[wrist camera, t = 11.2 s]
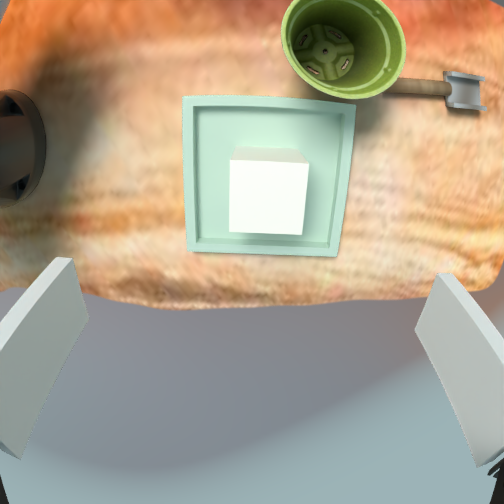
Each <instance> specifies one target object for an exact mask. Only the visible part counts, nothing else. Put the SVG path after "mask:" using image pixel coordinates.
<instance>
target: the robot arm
mask: <svg viewBox="0 0 504 504" xmlns="http://www.w3.org/2000/svg"><path fill="white" fill-rule="evenodd" d="M9 2H10V0H0V23H1V20H2V18H3V16H4V13H5V11H6V9H7V7H8V5H9ZM45 154H46V140H45V132H44V127H43V123H42V120H41V117H40V114H39V112H38V110H37V108H36V107H35V105H34V104H33V102H32V101H31V100H30V99H29V98H28V97H27V96H26V95H24V94H23V93H21V92H19V91H16V90H3V91H0V208H3V207H9V206H12V205H14V204H16V203H18V202H19V201H21V200H22V199H24V198H26V197H27V196H28V195H29V194H30V193H31V192H32V191H33V190H34V189H35V187H36V185H37V184H38V182H39V180H40V177H41V175H42V171H43V168H44V163H45ZM88 320H89V315H88V312H87V309H86V305H85V302H84V299H83V295H82V292H81V288H80V285H79V281H78V277H77V273H76V270H75V266H74V262H73V258H63V257H56V258H55V259H54V260H53V261H52V262H51V263H50V264H49V265H48V267H47V268H46V269H45V270H44V271H43V272H42V273H41V274H40V275H39V276H38V278H37V279H36V280H35V281H34V282H33V283H32V284H31V286H30V287H29V288H28V289H27V290H26V292H25V293H24V294H23V295H22V296H21V297H20V298H19V300H18V301H17V302H16V304H15V305H14V306H13V307H12V308H11V309H10V311H9V312H8V313H7V314H6V316H5V317H4V318H3V319H2V321H1V322H0V449H1V450H2V451H4V452H6V453H8V454H10V455H12V456H14V457H16V458H18V459H20V460H21V458H22V455H23V452H24V450H25V448H26V445H27V443H28V440H29V438H30V436H31V433H32V431H33V428H34V426H35V424H36V422H37V419H38V417H39V415H40V413H41V410H42V408H43V406H44V404H45V402H46V400H47V398H48V396H49V394H50V392H51V389H52V387H53V385H54V383H55V381H56V379H57V377H58V375H59V373H60V371H61V370H62V368H63V366H64V364H65V362H66V360H67V358H68V356H69V354H70V352H71V351H72V349H73V347H74V345H75V343H76V341H77V340H78V338H79V336H80V334H81V332H82V331H83V329H84V327H85V325H86V324H87V322H88ZM414 330H415V332H416V334H417V336H418V338H419V340H420V342H421V343H422V345H423V347H424V349H425V351H426V353H427V355H428V357H429V359H430V361H431V363H432V365H433V367H434V369H435V371H436V373H437V375H438V377H439V379H440V381H441V383H442V386H443V388H444V390H445V392H446V394H447V396H448V398H449V400H450V403H451V405H452V407H453V410H454V411H455V414H456V416H457V419H458V421H459V423H460V426H461V428H462V430H463V433H464V435H465V438H466V440H467V443H468V445H469V448H470V451H471V453H472V456H473V458H474V461H475V464H476V467H477V468H478V467H480V466H482V465H485V464H487V463H489V462H491V461H493V460H495V459H496V458H497V457H498V456H499V455H500V454H501V453H503V452H504V339H503V338H502V336H501V335H500V333H499V332H498V331H497V329H496V328H495V327H494V325H493V324H492V322H491V321H490V320H489V318H488V317H487V316H486V314H485V313H484V312H483V311H482V309H481V308H480V307H479V305H478V304H477V303H476V302H475V300H474V299H473V298H472V297H471V296H470V294H469V293H468V292H467V291H466V289H465V288H464V287H463V286H462V285H461V283H460V282H459V281H458V280H457V279H456V277H455V276H454V275H453V274H452V273H437V275H436V278H435V280H434V283H433V286H432V288H431V291H430V293H429V296H428V299H427V301H426V304H425V306H424V308H423V311H422V313H421V316H420V318H419V320H418V323H417V325H416V327H415V329H414ZM499 468H500V470H499V471H498V472H496V473H495V474H494V476H493V477H495V478H497V481H496V485H495V488H494V491H493V495H492V498H491V501H490V504H504V458H503V459H502V460H500V461H499V462H498V463H497V464H496V465H494V466H493V467H492V468H491V469H490V470H489V473H488V475H491V474H492V473H494V472H495V471H496V470H498V469H499ZM0 504H9V502H8V499H7V496H6V493H5V490H4V487H3V484H2V480H1V477H0Z"/></svg>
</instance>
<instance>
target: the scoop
mask: <svg viewBox="0 0 504 504" xmlns="http://www.w3.org/2000/svg"><path fill="white" fill-rule="evenodd" d="M443 77H444V81H435V80H424V79H411V78H397V80H396V81H395V82H394V83H393V84H392V85H391V86H390V87H389V88H388V89H386V90H385V91H383V92H391V93H416V94H432V95H444V96H445V103H446V106H449V107H455V108H466V109H475V110H483V111H487V107H485V106H480V88H479V81H485V77H482V76H477V75H471V74H465V73H459V72H453V71H443Z"/></svg>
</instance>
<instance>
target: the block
mask: <svg viewBox="0 0 504 504" xmlns="http://www.w3.org/2000/svg"><path fill="white" fill-rule="evenodd" d="M308 170H309V163H308V162H307V160H306V159H305V158H304V156H303V155H302V154H301V152H300V151H299V150H298V149H293V148H276V147H255V146H236V147H235V149H234V152H233V154H232V156H231V159H230V188H229V232H244V233H269V234H292V235H302V230H303V220H304V211H305V201H306V191H307V181H308Z"/></svg>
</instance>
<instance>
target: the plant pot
mask: <svg viewBox="0 0 504 504" xmlns="http://www.w3.org/2000/svg"><path fill="white" fill-rule="evenodd" d="M329 31H333V32H336V33H338V34H339V35H340V36H341V39H339V38H338V37H336V36H335V35H333V34H332V33H330V32H329ZM304 35H308V37H307V38H306V39H305V41H304V42H303V45H302V46H300V44H299V43H300V42H301V40H302V37H303V36H304ZM281 41H282V46H283V50H284V53H285V55H286V57H287V59H288V61H289V63H290V65H291V66H292V68H293V69H294V70H295V72H296V73H297V74H298V75H299V76H300V77H301V78H302V79H303V80H304V81H306V82H307V83H308V84H309V85H311V86H312V87H314V88H316V89H317V90H319V91H322V92H324V93H326V94H329V95H332V96H335V97H339V98H345V99H363V98H369V97H372V96H375V95H378V94H380V93H382V92H383V91H385V90H386V89H388V88H389V87H390V86H391V85H392V84H393V83H394V82H395V81H396V80H397V78H398V77H399V75H400V73H401V71H402V69H403V66H404V63H405V58H406V43H405V37H404V34H403V31H402V28H401V26H400V24H399V22H398V20H397V18H396V17H395V15H394V14H393V13H392V11H391V10H390V9H389V8H388V7H387V6H386V5H385V4H384V3H383V2H382V1H380V0H294V1H293V2H292V3H291V4H290V6H289V7H288V9H287V10H286V12H285V15H284V17H283V21H282V26H281ZM324 49H326V50H327V51H328V52H327V53H326V54H324V53H323V50H324ZM346 59H348V60H349V62H348V64H347V66H346V68H345V69H343V70H342V69H341V67H342V66H343V65H344V63H345V62H346ZM307 66H310V67H311V68H312V69H314V70H316V71H318V72H319V73H320V74H314V73H313V72H311V71H309V70H308V69H307Z"/></svg>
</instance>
